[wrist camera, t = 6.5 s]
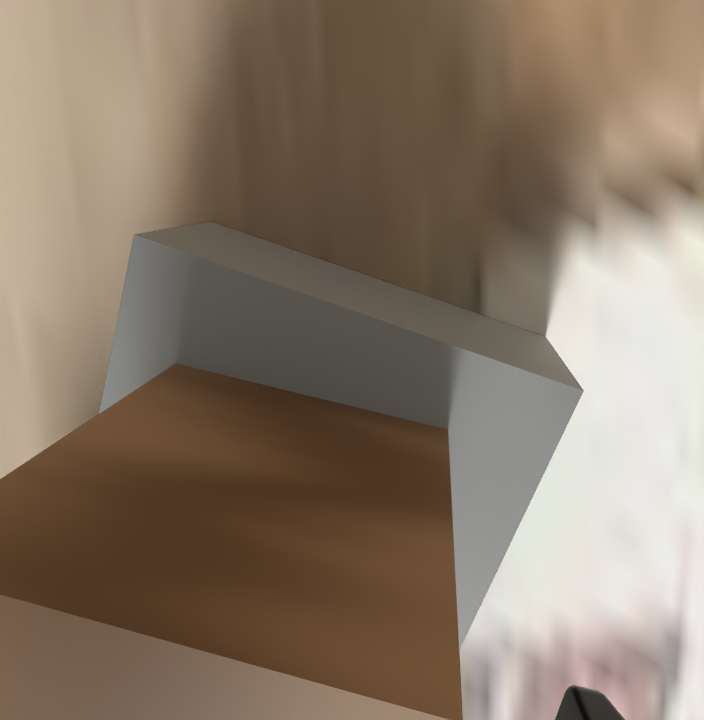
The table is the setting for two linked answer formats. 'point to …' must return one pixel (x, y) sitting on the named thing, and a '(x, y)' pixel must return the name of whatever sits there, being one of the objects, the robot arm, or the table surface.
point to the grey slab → (355, 365)
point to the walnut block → (230, 562)
